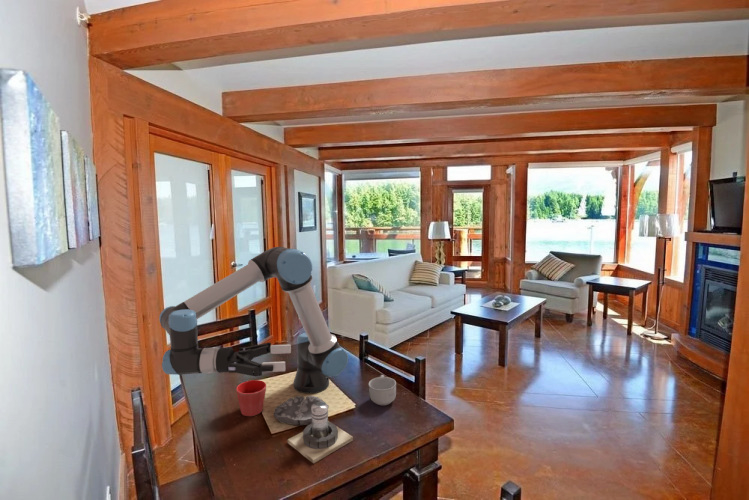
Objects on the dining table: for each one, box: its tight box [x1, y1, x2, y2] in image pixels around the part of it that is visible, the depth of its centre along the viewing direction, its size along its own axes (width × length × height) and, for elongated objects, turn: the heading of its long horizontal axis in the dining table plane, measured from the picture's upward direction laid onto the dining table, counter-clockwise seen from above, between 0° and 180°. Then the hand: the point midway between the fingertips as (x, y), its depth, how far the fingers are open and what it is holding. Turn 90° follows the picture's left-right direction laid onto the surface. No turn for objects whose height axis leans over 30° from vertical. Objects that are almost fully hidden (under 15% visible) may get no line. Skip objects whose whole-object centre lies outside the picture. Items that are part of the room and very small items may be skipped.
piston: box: [311, 401, 329, 438], centre depth 121 cm, size 5×5×11 cm
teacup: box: [368, 374, 397, 406], centre depth 149 cm, size 14×11×8 cm
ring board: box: [287, 420, 354, 464], centre depth 122 cm, size 14×16×4 cm
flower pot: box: [236, 379, 267, 417], centre depth 139 cm, size 11×11×10 cm
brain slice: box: [273, 395, 326, 426], centre depth 138 cm, size 20×17×3 cm
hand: (288, 357), depth 117 cm, fingers open, 13 cm apart
